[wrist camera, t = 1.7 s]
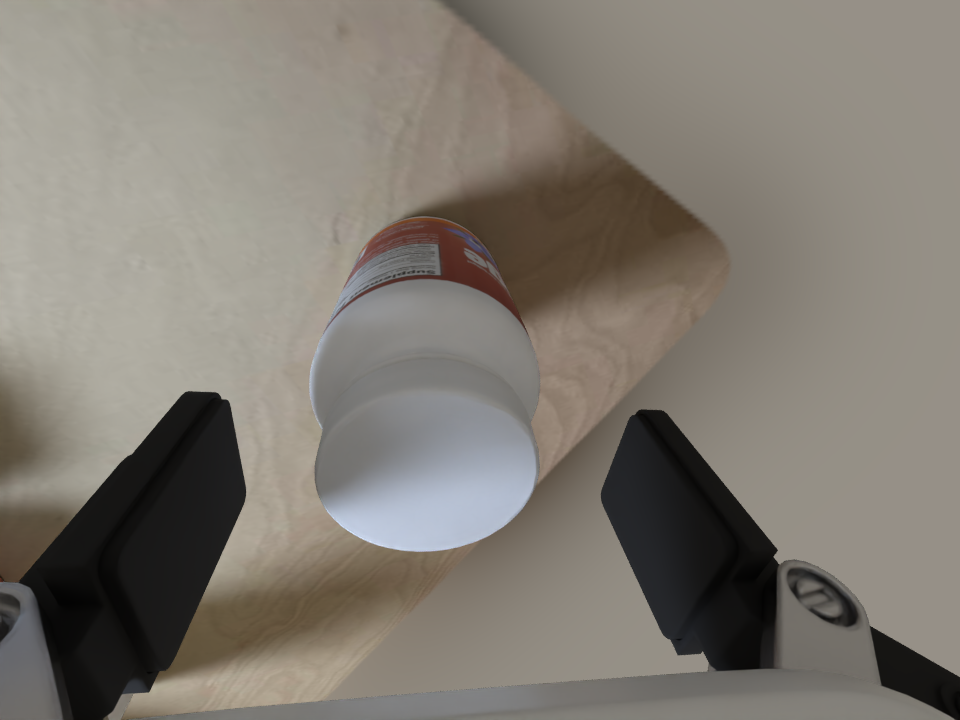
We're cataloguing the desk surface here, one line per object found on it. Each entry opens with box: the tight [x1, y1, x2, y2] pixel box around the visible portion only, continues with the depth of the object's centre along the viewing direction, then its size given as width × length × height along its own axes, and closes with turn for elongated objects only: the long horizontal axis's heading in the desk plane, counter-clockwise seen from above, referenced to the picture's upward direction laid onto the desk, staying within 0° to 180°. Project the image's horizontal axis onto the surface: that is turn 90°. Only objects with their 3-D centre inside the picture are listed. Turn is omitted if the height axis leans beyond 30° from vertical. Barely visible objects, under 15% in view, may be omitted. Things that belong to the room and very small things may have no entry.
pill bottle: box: [310, 216, 540, 552], centre depth 13 cm, size 6×6×11 cm
